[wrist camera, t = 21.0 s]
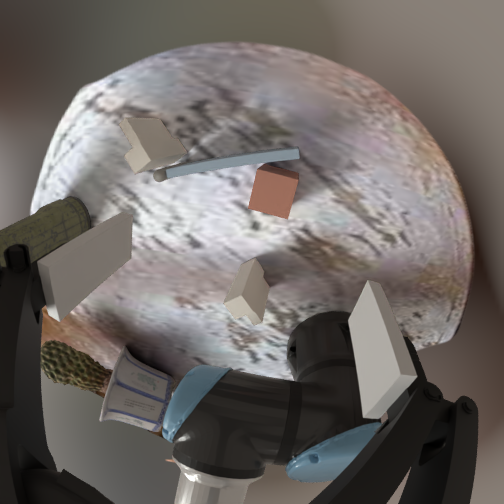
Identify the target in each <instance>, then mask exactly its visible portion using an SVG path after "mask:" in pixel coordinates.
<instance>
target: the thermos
mask: <svg viewBox="0 0 504 504" xmlns="http://www.w3.org/2000/svg"><path fill="white" fill-rule="evenodd" d="M90 226H91V223H90V217H89V213H88V210H87V209H86V207H85V205H84V204H83V203H82V202H81V201H80V200H79V199H78V198H76V197H71V196H69V197H67V198H65V199H63V200H61V199H59V200H57V201H55V202H52V203H50V204H47V205H45V206H43V207H41V208H40V209H39V210H38V211H37V212H36V213H35V214H33V215H31V216H29V217H26V218H24V219H22V220H20V221H18V222H16V223H14V224H12V225H10V226H8V227H6V228H4V229H2V230H0V262H1V266H3V267H6V262H5V258H4V253H3V252H4V250H5V249H6V248H8V247H9V246H12V245H15V244H25V245H27V246H28V247H29V252H30V259H31V263H32V262H34V261H35V260H37V259H38V258H40V257H41V256H43V255H45V254H46V253H49V251H51V250H53V249H55V248H56V247H57V246H59V245H61V244H63V243H66V242H69V241H71V240H73V239H74V238H76V237H78V236H79V235H81V234H83V233H85V232H86V231H88V230H90Z"/></svg>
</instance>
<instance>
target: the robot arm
mask: <svg viewBox="0 0 504 504" xmlns="http://www.w3.org/2000/svg"><path fill="white" fill-rule="evenodd" d="M132 224H133V215H131V214H128V213H124V212H121V213H119V214H117V215H116V216H114V217H112V218H110V219H108V220H106V221H104V222H103V223H101V224H99V225H97V226H95V227H93V228H92V229H90V230H88V231H86V232H85V233H83V234H81V235H79V236H78V237H76V238H74V239H73V240H71V241H69V242H66V243H63V244H61V245H59V246H57V247H56V248H55V249H53V250H51V251H49V253H46V254H45V255H43V256H41V257H40V258H38V259H37V260H35V261H34V262H32V263H31V259H30V252H29V247H28V246H27V245H25V244H15V245H12V246H9V247H8V248H6V249H5V250H4V252H3V253H4V258H5V262H6V267H3V266H1V262H0V504H115V503H113V502H112V501H110V500H109V499H108V498H106V497H105V496H104V495H103V494H101V493H100V492H99V491H98V490H96V489H95V488H94V487H92V486H90V485H89V484H87V483H85V482H84V481H82V480H80V479H79V478H77V477H75V476H74V475H72V474H71V473H69V472H67V471H66V470H65V469H63V470H62V472H57V468H56V465H55V462H54V460H53V457H52V455H51V453H50V451H49V449H48V446H47V441H46V434H45V427H44V418H43V408H42V395H41V333H42V319H43V313H42V308H43V307H44V306H45V305H46V306H47V310H48V314H49V315H50V316H51V317H53V318H54V319H56V320H58V321H61V320H62V319H63V318H64V317H65V316H66V315H67V314H69V313H70V312H71V311H72V310H73V309H74V308H75V307H76V306H77V305H78V304H79V303H80V302H81V301H83V300H84V299H85V298H86V297H87V296H88V295H89V294H90V293H91V292H93V291H94V290H95V289H96V288H97V287H98V286H99V285H100V284H102V283H103V282H104V281H105V280H106V279H107V278H108V277H110V276H111V275H112V274H113V273H114V272H115V271H117V270H118V269H119V268H120V267H121V266H123V265H124V264H125V263H126V262H127V261H129V260H130V259H131V250H132ZM287 361H288V365H289V367H290V370H291V373H292V375H293V378H294V381H290V380H284V379H278V378H272V377H266V376H261V375H255V374H250V373H245V372H240V371H236V370H233V369H232V368H220V367H215V366H210V365H198V366H196V367H194V368H193V369H191V370H190V371H189V372H188V373H187V374H186V375H185V376H184V378H183V379H182V380H181V382H180V383H179V385H178V387H177V388H176V390H175V392H174V394H173V396H172V398H171V400H170V403H169V405H168V408H167V411H166V414H165V417H164V421H163V427H164V428H163V430H162V433H163V436H164V438H165V439H167V440H168V441H169V442H172V443H174V444H175V445H174V450H173V454H172V458H173V460H174V461H175V462H176V463H177V465H178V466H179V467H180V469H181V474H180V479H179V483H178V488H177V493H176V497H175V502H174V504H243V502H244V499H245V495H246V491H247V488H248V485H249V484H250V483H252V482H254V481H256V480H258V479H260V478H261V477H263V474H264V470H265V466H266V464H275V465H283V466H286V468H285V470H286V472H287V475H288V477H289V478H291V479H293V480H299V481H300V482H325V481H331V480H334V481H333V482H332V483H331V484H330V485H328V486H327V487H326V488H325V489H324V490H323V491H322V492H321V493H320V494H319V495H318V496H317V497H316V498H314V499H313V500H312V501H311V502H310V503H309V504H386V503H387V502H388V500H389V499H390V498H391V496H392V495H393V494H394V492H395V491H396V489H397V488H398V486H399V485H400V483H401V482H402V480H403V479H404V477H405V476H406V474H407V472H408V471H409V469H410V467H411V470H410V473H409V476H408V479H407V482H406V485H405V487H404V490H403V493H402V495H401V498H400V501H399V503H398V504H470V499H471V494H472V488H473V482H474V475H475V467H476V457H477V444H478V408H477V406H476V404H475V402H474V401H473V400H472V399H470V398H469V397H467V396H461V397H460V398H459V399H458V400H457V401H456V402H455V403H453V402H450V401H447V400H445V399H444V398H443V394H442V392H441V391H440V389H439V388H438V387H437V386H436V385H434V384H432V383H430V382H427V379H426V376H425V373H424V370H423V368H422V365H421V362H420V361H419V357H418V355H417V352H416V350H415V347H414V345H413V344H412V342H411V341H410V340H409V339H408V337H404V336H402V333H401V331H400V328H399V326H398V323H397V321H396V318H395V316H394V314H393V311H392V309H391V307H390V304H389V302H388V300H387V297H386V295H385V293H384V291H383V289H382V286H381V284H380V283H378V282H374V281H370V280H367V282H366V285H365V287H364V289H363V291H362V293H361V295H360V297H359V299H358V301H357V303H356V306H355V308H354V310H353V312H352V314H351V313H347V312H327V313H322V314H318V315H315V316H313V317H311V318H309V319H307V320H305V321H304V322H302V323H301V324H300V325H298V326H297V327H296V328H295V329H294V331H293V332H292V334H291V335H290V337H289V340H288V345H287ZM386 411H387V414H388V419H387V420H386V421H385V422H384V423H383V424H382V423H381V416H382V415H383V414H384V413H385V412H386Z"/></svg>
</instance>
